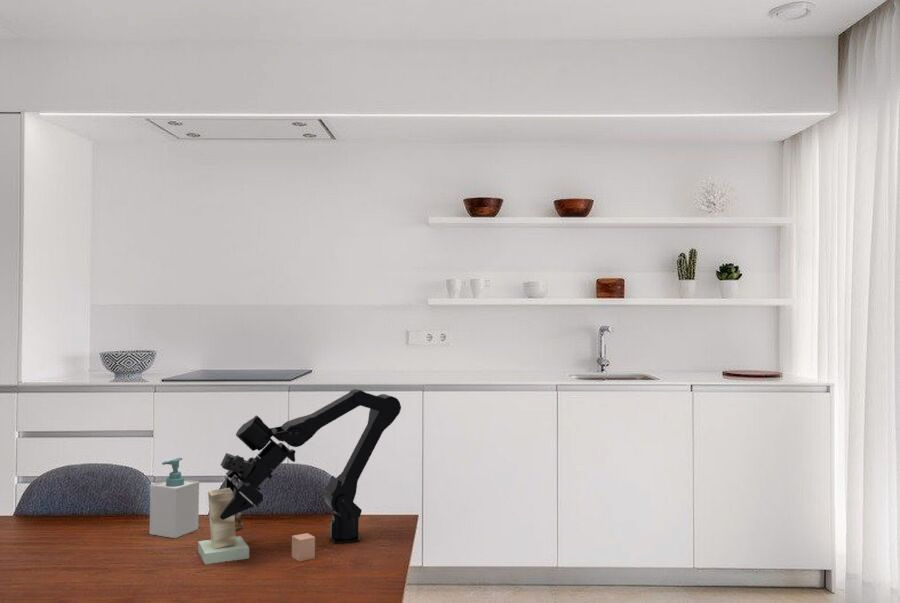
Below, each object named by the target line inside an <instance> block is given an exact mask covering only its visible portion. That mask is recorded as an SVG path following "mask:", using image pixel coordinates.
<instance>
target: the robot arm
mask: <svg viewBox="0 0 900 603" xmlns="http://www.w3.org/2000/svg"><path fill="white" fill-rule="evenodd" d="M360 406H361V407H364V408H367V409H369V412H368V420H367V424H366V426H365V428H364V429H363V432H362V434H361V436H360V438H359V440H358V441H357V442H356V443H357V444H356V445H355V447H354V448H353V451H352V452H351V455H350V457H349V459H348V460H347V462H346V464H345V467H344V468H343V470H342V472H341V473H340V474H339V475H338V476H336V477H335V476H334V475H331V476H330V478H329V481H328V484H327V485H326V486H325V487H324V488H323V490H324V494H323V499H324V502H325V503H326V504H327V506H328V507H329V508H331V511H332V520H330V521H329V523H330V525H329V536H330V538H331V539H332V541H333V543H334V544H341V543H342V544H343V543H356V542H360V541H361V538H360V537H359V525H360V524H359V523H360V521H359V520H360V517H361V514H362V511H363V510H362V509H361V508H360V507H359V506H358V505H357V504H356V502H354V501H355V498H356V494H357V488H358V481H359V480H360V477H361V475H362V473H363V472H364V470H365V468H366V467H367V466H366V465H367V464H368V462H369V460H370V458H371V455H372V453H373V452H374V450H375V449H376V446H377V444H378V442H379V440H380V438H381V436H382V434H383V433H384V431H385V430H386V429H387V428H389V426H391V425H392V423H393V422H394V421H395V420H396V419H397V417H398V416H399V415H400V413H401V410H402V405H401V402H400V400H399V399H398V398H397V397H396V396H393V395H388V394H385V393H381V394H378V395H376V394H375V395H374V394H372V393H368V392H365V391H363V390H361V389H359V388H354V389H351V390H350V391H349V392H348V393H346V394H344V395H342V396H341V397H339V398H337V399H335V400H334V401H331V403H328V404H326V405H325V406H323V407H321V408H319V409H317V410H316V411H314V412H313V413H310V414H307V415H302V416H299V417H296V418H293V419H290V420H288V421H286V422H284V423H282V425H279V426H276V427H275V426H274V427H269V426H268V425H267V424H265V422H264V421H263V420H262V418H260V416H258V415H255V416H254V417H253V418H251V419H249V420H248V421H246V422H244V423H243V424H242V425H241V426H240V427H239V428H238V429H237V431H236V433H235V436H236V438H238V439H239V440H240V441H241V442H242V443H243V444H244V445H246V447H247V448H249V449H250V450H251V451H252V452H254V451H259V453H258V454H257V455H256V456H255V457H249V458H248V459H247V460H246V459H245V458H244V457H243V456H239V455H238V454H237V455H233V454H231V453H228V452H226V453H225V455H224V457H223V458H222V460H221V463H220V466H221V468H222V469H224V470H226V471H227V472H225V475H226V476H225V477H224V481H225V486H224V488H223V489H225V488H230V489H231V490H232V491H233V498H232V500H231V501H230V503H229V504H228V505H227V507H226V508H225V509H224V511H223V512H222V514H221V515H220V518H221V519H222V520H224V519H226V518H228V517H231V516H233V515H235V514H237V513H242V512H243V511H246V510H248V509H252V508H254V507H255V506H256V507H258V506H259V505H260V504H261V503H262V502H263V501H264V495H263V493H262V492H261V486H262V485H263V484H264V482H266V481H267V479H269V480H271V479H272V478H273V475H272V474H273V473H274V472H275V471H276V470H277V468H279V466H281V465H282V463H283V462H285V460H286V459H287V458H288V459H289V460H290V462H293V463H295V462H296V450H295V449H292V448H291V449H290V448H288V446H290V447H293V448H299V447H302V446H304V444H305V443H307V442H308V441H309V440H311V439H312V438H313V437H314V436H315V434H316V433H317V432H318V431H319V430H320V429H321V428H323V427H325V426H327V425H329V424H330V423H332V422H334V421H336V420H337V419H339V418H341V417H343V416H344V415H346V414H348V413H349V412H351V411H353V410H355V409H356V408H358V407H360ZM272 437H273V438H275V440H277V441H279V443H277V442H276V441H274V439H272ZM283 442H284V443H283ZM285 444H288V446H286V445H285Z"/></svg>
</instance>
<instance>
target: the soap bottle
mask: <svg viewBox="0 0 900 603" xmlns="http://www.w3.org/2000/svg"><path fill="white" fill-rule="evenodd" d="M182 460H183V457H176V458H175V459H171V460H167V461H162V463H161V464H162V466H164V465H170V466H171V468H172V471H171V472H169V474H168V476H169V477H167V478H166V479H165V480H163V481H160V482H156V483H151V484H150V489H149V490H150V497H149V499H150V500H149V502H150V503H149V535H152V536H153V535H154V536H159V537H165V538H171V539H177V538H179V537H182V536H185V535H187V534H191V533H193V532H195V531H198V530H199V513H200V512H199V511H200V509H199V508H200V507H199V504H200V500H199V499H200V481H199V480H193V479H192V480H191V479H185V477H184V476H182V472H181V471H178V470H179V468H180V461H182Z"/></svg>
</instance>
